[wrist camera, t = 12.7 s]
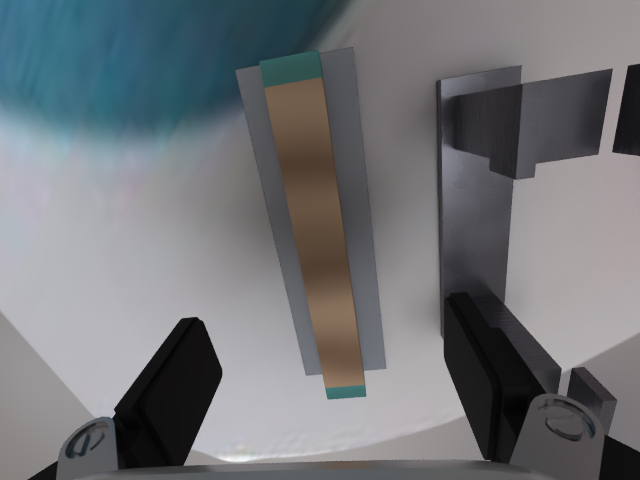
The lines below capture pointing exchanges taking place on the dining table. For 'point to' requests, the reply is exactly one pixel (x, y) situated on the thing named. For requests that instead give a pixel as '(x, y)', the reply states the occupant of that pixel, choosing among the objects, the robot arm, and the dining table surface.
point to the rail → (316, 214)
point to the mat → (352, 199)
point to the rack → (497, 185)
